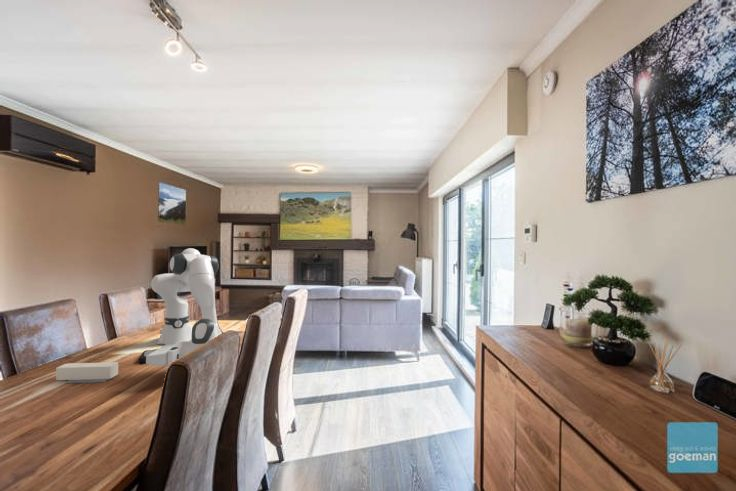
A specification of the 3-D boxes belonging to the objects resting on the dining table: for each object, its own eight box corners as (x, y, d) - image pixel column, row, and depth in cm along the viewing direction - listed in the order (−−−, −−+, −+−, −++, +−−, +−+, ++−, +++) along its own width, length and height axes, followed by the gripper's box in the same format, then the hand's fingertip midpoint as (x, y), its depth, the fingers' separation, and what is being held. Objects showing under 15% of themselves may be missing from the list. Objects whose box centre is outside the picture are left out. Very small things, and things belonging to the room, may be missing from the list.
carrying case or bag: (163, 362, 158) (167, 353, 172) (164, 356, 158) (167, 347, 172) (136, 365, 154) (142, 355, 167) (136, 358, 154) (142, 349, 167)
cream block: (110, 378, 136) (55, 380, 134) (117, 374, 141) (65, 375, 139) (110, 366, 136) (56, 367, 134) (118, 362, 141) (65, 363, 139)
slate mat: (66, 383, 132) (66, 382, 132) (84, 373, 142) (84, 372, 142) (103, 382, 134) (103, 381, 134) (119, 372, 144) (119, 372, 144)
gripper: (191, 338, 152) (158, 338, 150) (170, 352, 132) (132, 352, 130) (191, 352, 152) (158, 352, 150) (169, 368, 132) (131, 369, 130)
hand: (146, 353), depth 140 cm, fingers closed
